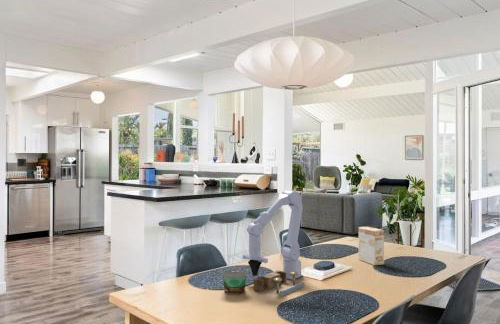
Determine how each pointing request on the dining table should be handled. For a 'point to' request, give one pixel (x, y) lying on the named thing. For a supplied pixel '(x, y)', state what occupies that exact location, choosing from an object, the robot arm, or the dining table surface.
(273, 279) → the keyhole posts
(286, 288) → the back rail
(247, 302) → the dining table surface
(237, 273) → the food container
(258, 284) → the wooden notched bar
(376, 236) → the coffeecake box
